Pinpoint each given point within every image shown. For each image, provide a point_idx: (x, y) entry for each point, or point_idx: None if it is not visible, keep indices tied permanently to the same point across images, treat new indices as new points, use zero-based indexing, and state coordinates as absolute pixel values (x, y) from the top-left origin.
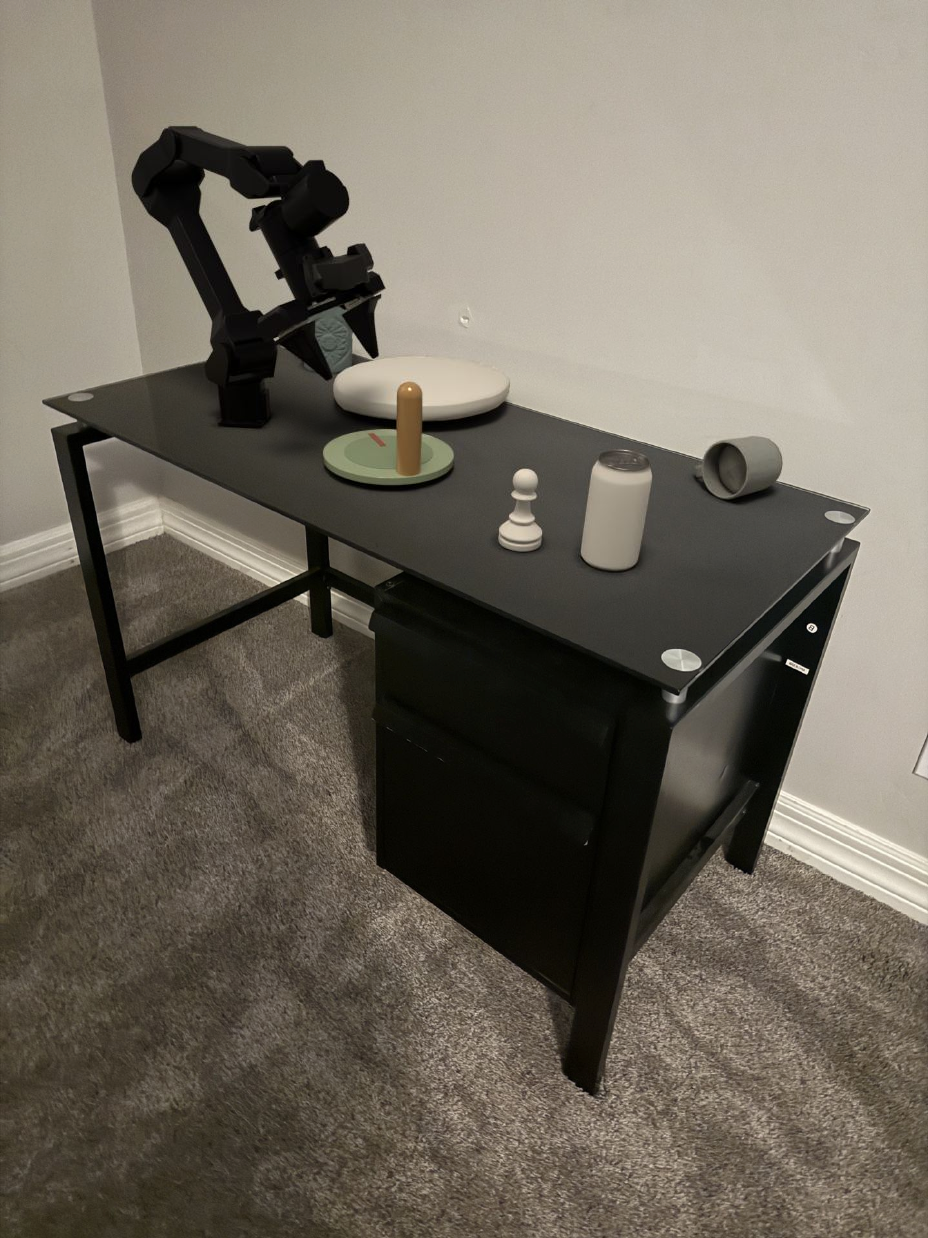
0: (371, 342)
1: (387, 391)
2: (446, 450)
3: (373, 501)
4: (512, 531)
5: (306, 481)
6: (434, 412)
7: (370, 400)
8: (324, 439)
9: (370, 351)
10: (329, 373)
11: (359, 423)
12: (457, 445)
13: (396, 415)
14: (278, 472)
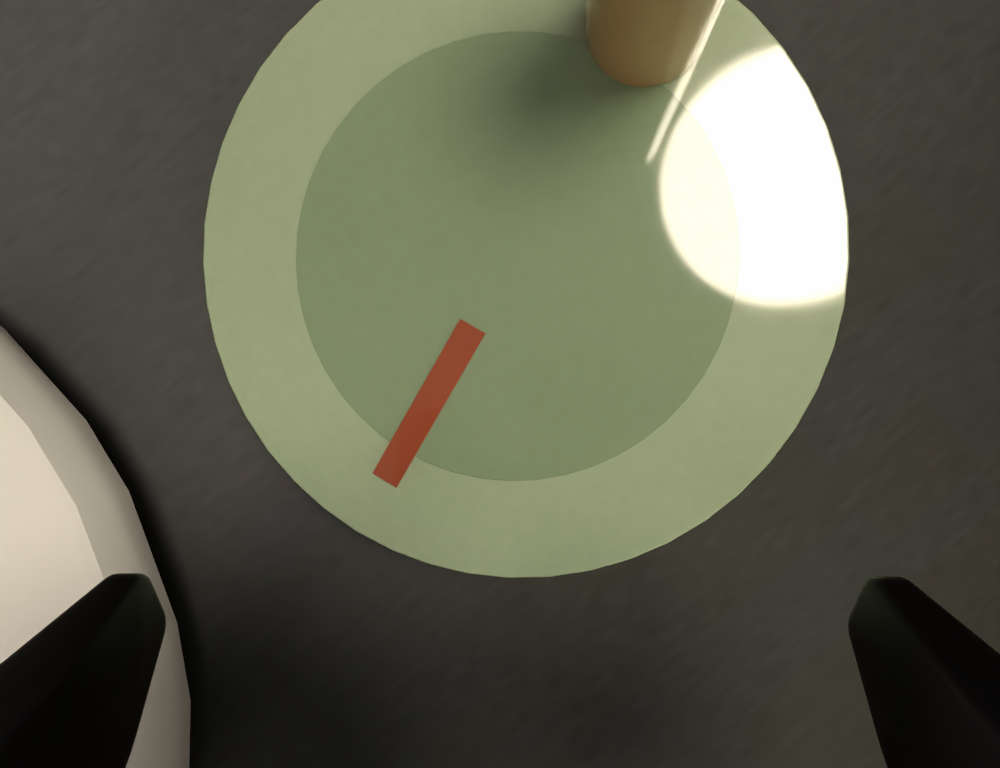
0: (57, 715)
1: None
2: (305, 58)
3: (881, 59)
4: None
5: (896, 433)
6: (5, 354)
7: None
8: (462, 689)
9: (132, 675)
10: (933, 608)
11: (209, 692)
12: (118, 188)
13: (131, 518)
14: None
